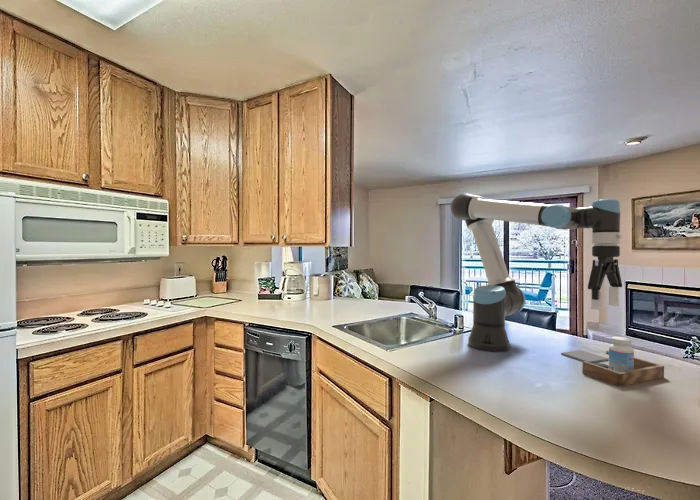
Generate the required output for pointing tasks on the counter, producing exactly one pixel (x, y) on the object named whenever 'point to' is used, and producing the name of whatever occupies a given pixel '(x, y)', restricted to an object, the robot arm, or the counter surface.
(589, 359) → the coaster
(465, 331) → the counter surface
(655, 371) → the cubby
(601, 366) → the disc
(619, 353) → the pill bottle
